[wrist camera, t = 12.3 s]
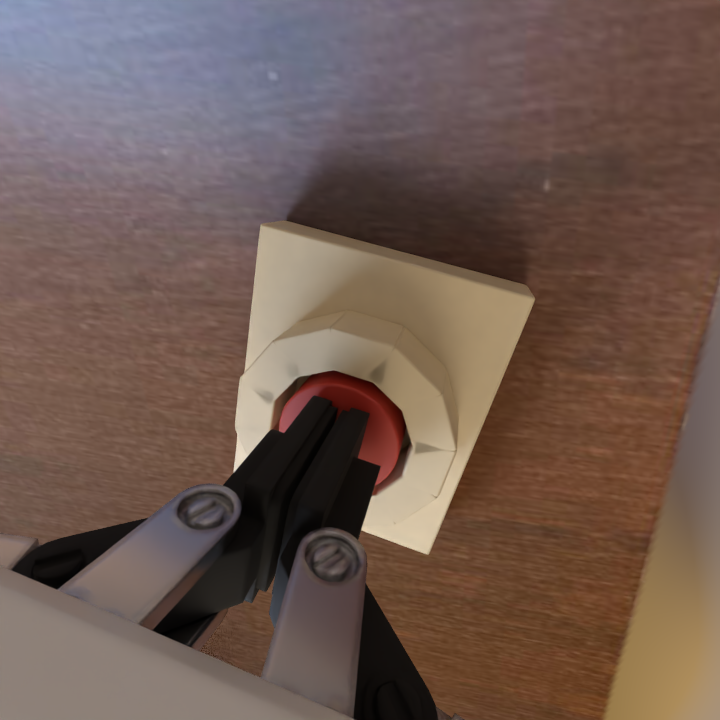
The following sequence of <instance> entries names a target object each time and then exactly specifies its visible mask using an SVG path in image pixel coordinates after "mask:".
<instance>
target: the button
mask: <svg viewBox="0 0 720 720" xmlns="http://www.w3.org/2000/svg"><path fill="white" fill-rule="evenodd" d="M314 395H315V396H319V397H322V398H325V399H328V400H331V401H332V406H333V407H336V408H338V411H337V416H336V420H337V418H338V417H339V415H340V413H341V412H342V410H345V411H348V412H349V410H350V409H351V407H352V408H355V409H358V410H361V411H365V412H368V413H370V415H369V419H368V423H367V426H366V430H365V434H364V437H363V441H362V445H361V448H360V452H359V456H358V458H359V459H362V460H365V461H368V462H370V463H373V464H376V465H379V466H381V467H380V471H379V474H378V477H377V481H376V484H375V486H376V485H377V484H379V483H381V482H382V481H383V480H384V479H386V478H387V477H388V476H389V474H390V473H391V472H392V470H393V469H394V467H395V465H396V463H397V460H398V457H399V453H400V449H401V445H402V442H403V438H404V434H405V430H406V423H405V420H404V416H403V413H402V410H401V409H400V408H399V407H398V406H397V405H396V404H395V403H394V402H392V401H391V400H390V399H389V398H388V397H387V396H386V395H385V394H384V393H383V392H382V391H381V390H380V389H379V388H378V387H377V386H376V385H375V384H374V383H373V382H370V381H367V380H364V379H360V378H357V377H354V376H351V375H348V374H345V373H341V372H338V371H335V370H332V371H327V372H322V373H317V374H312V375H310V376H309V378H308V379H307V380H306V381H305V382H304V383H303V384H302V386H301V387H300V388H299V389H298V390H297V391H296V392H295V394H294V395H293V396H292V397H291V398H290V399H289V401H288V402H287V403H286V405H285V406H284V408H283V411H282V413H281V417H280V423H279V431H280V432H283V433H285V431H286V430H287V429H288V427H289V426H290V425H291V424H292V422H293V421H294V420H295V418H296V417H297V416H298V415H299V413H300V412H301V411H302V409H303V408H304V407H305V406H306V404H307V403H308V402H309V400H310V399H311V398H312V397H313V396H314ZM336 420H335V422H336Z"/></svg>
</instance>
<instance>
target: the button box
mask: <svg viewBox="0 0 720 720" xmlns="http://www.w3.org/2000/svg"><path fill="white" fill-rule="evenodd" d="M534 301H535V297H534V296H533V294H532V293H531V291H530V289H529V288H528V286H527V285H524V284H521V283H517V282H513V281H509V280H506V279H502V278H498V277H494V276H491V275H487V274H483V273H479V272H476V271H472V270H468V269H465V268H461V267H457V266H453V265H450V264H446V263H442V262H438V261H435V260H431V259H427V258H423V257H420V256H416V255H412V254H409V253H405V252H401V251H397V250H394V249H390V248H386V247H382V246H379V245H375V244H371V243H367V242H364V241H360V240H356V239H352V238H349V237H345V236H341V235H338V234H334V233H330V232H326V231H323V230H319V229H315V228H311V227H308V226H304V225H300V224H296V223H293V222H289V221H285V220H284V221H277V222H270V223H263V224H261V226H260V234H259V243H258V253H257V262H256V271H255V280H254V289H253V298H252V308H251V317H250V326H249V335H248V344H247V354H246V363H245V372H244V374H243V375H242V376H241V377H240V381H239V390H238V400H237V410H236V419H235V430H236V432H237V434H238V436H237V446H236V455H235V464H234V472H235V471H236V469H237V468H238V467H239V466H240V465H241V464H242V462H243V461H244V460H245V459H246V458H247V456H248V455H249V454H250V453H251V452H252V451H253V449H254V448H255V447H256V446H257V445H258V444H259V442H260V441H261V440H262V439H263V438H264V436H265V435H266V434H267V433H268V432H269V431H270V430H272V429H274V430H277V431H279V423H280V417H281V413H282V411H283V408H284V406H285V405H286V403H287V402H288V401H289V399H290V398H291V397H292V396H293V395H294V394H295V392H296V391H297V390H298V389H299V388H300V387H301V386H302V384H303V383H304V382H305V381H306V380H307V379H308V378H309V376H310V375H312V374H317V373H322V372H327V371H332V370H335V371H338V372H341V373H345V374H348V375H351V376H354V377H357V378H360V379H364V380H367V381H370V382H373V383H374V384H375V385H376V386H377V387H378V388H379V389H380V390H381V391H382V392H383V393H384V394H385V395H386V396H387V397H388V398H389V399H390V400H391V401H392V402H394V403H395V404H396V405H397V406H398V407H399V408H400V409H401V410H402V413H403V416H404V420H405V423H406V430H405V434H404V438H403V442H402V445H401V449H400V453H399V457H398V460H397V463H396V465H395V467H394V469H393V470H392V472H391V473H390V474H389V476H388V477H387V478H386V479H384V480H383V481H382V482H381V483H379V484H377V485H376V486H375V487H374V491H373V494H372V497H371V500H370V503H369V507H368V510H367V513H366V516H365V519H364V522H363V526H362V529H361V530H362V531H365V532H368V533H370V534H373V535H376V536H378V537H381V538H384V539H386V540H389V541H392V542H395V543H397V544H400V545H403V546H405V547H408V548H411V549H414V550H416V551H419V552H422V553H424V554H429V553H430V550H431V548H432V546H433V543H434V541H435V538H436V536H437V534H438V531H439V529H440V526H441V524H442V522H443V519H444V517H445V514H446V512H447V510H448V507H449V505H450V502H451V500H452V498H453V495H454V493H455V490H456V488H457V486H458V483H459V481H460V479H461V476H462V474H463V471H464V469H465V467H466V464H467V462H468V459H469V457H470V455H471V452H472V450H473V447H474V445H475V443H476V440H477V438H478V435H479V433H480V431H481V428H482V426H483V423H484V421H485V419H486V416H487V414H488V411H489V409H490V407H491V404H492V402H493V400H494V397H495V395H496V392H497V390H498V388H499V385H500V383H501V380H502V378H503V376H504V373H505V371H506V368H507V366H508V364H509V361H510V359H511V356H512V354H513V352H514V349H515V347H516V344H517V342H518V340H519V337H520V335H521V332H522V330H523V328H524V325H525V323H526V320H527V318H528V316H529V313H530V311H531V309H532V306H533V304H534Z"/></svg>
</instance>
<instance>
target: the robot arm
mask: <svg viewBox="0 0 720 720" xmlns="http://www.w3.org/2000/svg"><path fill="white" fill-rule="evenodd" d="M337 411H338V408H336V407H333V406H332V401H331V400H328V399H325V398H322V397H319V396H315V395H314V396H313V397H312V398H311V399H310V400H309V402H308V403H307V404H306V406H305V407H304V408H303V409H302V411H301V412H300V413H299V415H298V416H297V417H296V418H295V420H294V421H293V422H292V424H291V425H290V426H289V427H288V429H287V430H286V431H285V433H283V432H280V431H277V430H274V429H272V430H270V431H269V432H268V433H267V434H266V435H265V436H264V438H263V439H262V440H261V441H260V442H259V444H258V445H257V446H256V447H255V448H254V449H253V451H252V452H251V453H250V454H249V455H248V456H247V458H246V459H245V460H244V461H243V462H242V464H241V465H240V466H239V467H238V468H237V469H236V471H235V472H234V473H233V474H232V475H231V477H230V478H229V479H228V480H227V481H226V482H225V484H224V485H223V486H222V485H218V484H200V485H196V486H193V487H190V488H188V489H186V490H184V491H183V492H181V493H179V494H178V495H177V496H176V497H174V498H173V499H172V500H171V501H169V502H168V503H167V504H165V505H164V506H163V507H162V508H160V509H159V510H158V511H157V512H155V513H154V514H153V515H151V516H150V517H149V518H145V519H141V520H137V521H132V522H128V523H124V524H119V525H115V526H111V527H107V528H102V529H98V530H94V531H89V532H85V533H81V534H76V535H72V536H68V537H64V538H60V539H57V540H54V541H51V542H48V543H45V544H43V545H39V543H38V539H37V538H30V537H24V536H17V535H10V534H4V533H0V720H464V719H463V718H461V717H460V716H459V715H457V714H456V713H454V715H453V717H452V718H451V717H450V716H449V715H447V714H446V713H444V712H443V711H442V710H440V709H439V708H437V707H436V705H435V703H434V701H433V699H432V696H431V694H430V692H429V690H428V688H427V686H426V685H425V683H424V681H423V680H422V678H421V676H420V675H419V673H418V671H417V669H416V668H415V666H414V664H413V663H412V661H411V659H410V658H409V656H408V654H407V653H406V651H405V649H404V647H403V646H402V644H401V642H400V641H399V639H398V637H397V636H396V634H395V632H394V631H393V629H392V627H391V625H390V624H389V622H388V620H387V619H386V617H385V615H384V614H383V612H382V610H381V608H380V607H379V605H378V603H377V602H376V600H375V598H374V597H373V595H372V593H371V592H370V590H369V588H368V586H367V585H366V573H367V555H366V553H365V550H364V548H363V546H362V545H361V543H360V542H359V541H358V538H359V535H360V532H361V529H362V526H363V522H364V519H365V516H366V513H367V510H368V507H369V503H370V500H371V497H372V494H373V491H374V487H375V484H376V481H377V477H378V474H379V471H380V467H381V466H379V465H376V464H373V463H370V462H368V461H365V460H362V459H359V458H358V456H359V452H360V448H361V445H362V441H363V437H364V434H365V430H366V426H367V423H368V419H369V415H370V413H368V412H365V411H361V410H358V409H355V408H352V407H351V409H350V410H349V412H348V411H345V410H342V412H341V413H340V415H339V417H338V418H337V420H336V416H337ZM335 420H336V422H335ZM275 574H276V575H275ZM274 576H275V580H274V585H273V590H272V595H273V596H272V601H271V606H270V611H269V615H270V617H271V620H272V623H273V626H274V628H275V630H274V633H273V637H272V640H271V644H270V647H269V651H268V654H267V658H266V661H265V665H264V668H263V672H262V675H261V678H259V677H257V676H255V675H253V674H250V673H248V672H246V671H243V670H241V669H239V668H237V667H234V666H232V665H230V664H227V663H225V662H223V661H221V660H218V659H216V658H214V657H211V656H209V655H207V654H204V653H202V652H200V649H201V648H202V647H203V645H204V644H205V643H206V642H207V640H208V639H209V638H210V636H211V635H212V634H213V632H214V631H215V630H216V629H217V627H218V626H219V625H220V623H221V622H222V621H223V619H224V617H225V615H226V614H227V612H228V608H230V607H232V606H235V605H238V604H240V603H243V601H244V600H245V601H247V602H250V603H252V602H253V600H254V598H255V596H256V594H257V592H258V591H259V589H260V590H262V591H265V592H266V591H267V590H268V588H269V586H270V584H271V582H272V580H273V578H274Z"/></svg>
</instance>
